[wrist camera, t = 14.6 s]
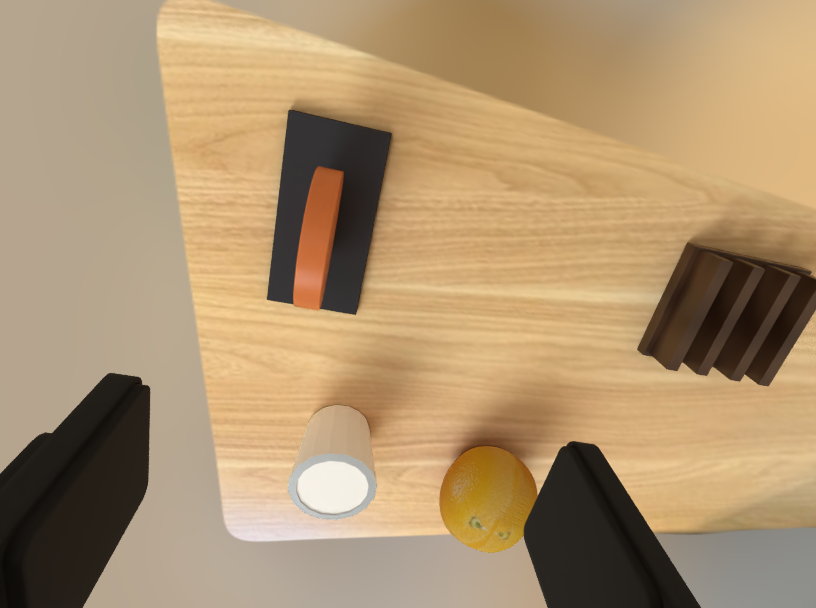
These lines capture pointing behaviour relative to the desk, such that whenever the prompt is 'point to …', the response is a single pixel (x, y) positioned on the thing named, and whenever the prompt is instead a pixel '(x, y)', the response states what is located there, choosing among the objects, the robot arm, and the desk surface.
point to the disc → (317, 238)
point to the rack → (730, 314)
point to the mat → (362, 180)
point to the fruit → (487, 498)
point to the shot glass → (334, 465)
